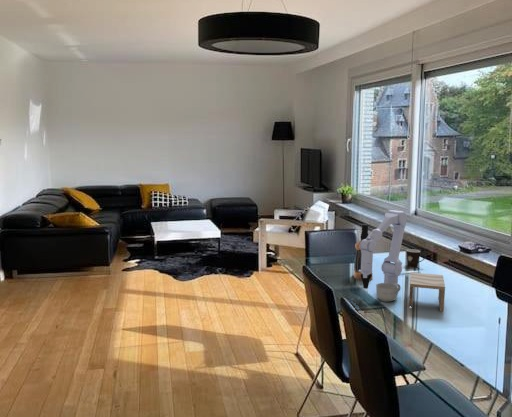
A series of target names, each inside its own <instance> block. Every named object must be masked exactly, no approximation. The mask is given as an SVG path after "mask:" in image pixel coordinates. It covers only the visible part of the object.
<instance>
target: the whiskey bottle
mask: <svg viewBox="0 0 512 417" xmlns="http://www.w3.org/2000/svg"><path fill="white" fill-rule="evenodd" d="M368 236H369V225H368V224H367V223H363V224H361V233H360V241H357V242H355V244H354V247H355V254H354V255H355V256H354V269H353V275H352V276H353V278H354V279H355V280H362V278H361V276H360V275H361V274H362V273H361V272H359V270H361V256H362V253H361V249H360V247H359V245H360V242H361V241H362V240H363V239H366V238H367V237H368ZM371 274H372V275H373V272H372V273H371ZM371 280H373V276H372V277H371V278H370V281H371Z"/></svg>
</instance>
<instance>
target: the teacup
mask: <svg viewBox="0 0 512 417" xmlns="http://www.w3.org/2000/svg"><path fill="white" fill-rule="evenodd" d="M375 287H376V288H375V289H376V297H377V298H378V299H379V300H380V301H382V302H393V301H394V300H396V299H397V297H398V293H399V292H400V291H401V287H402V286H401V285H400V284H399V283H398V284H392V283H384V282H380V283H379V282H378V283H377V284H375ZM397 287H398V289H397Z"/></svg>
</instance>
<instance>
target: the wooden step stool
mask: <svg viewBox="0 0 512 417" xmlns="http://www.w3.org/2000/svg"><path fill="white" fill-rule="evenodd" d="M409 281H410V282H409V300H408V301H409V302H408V307H409V306H411V307H412V308H413V298H414V288H417V289H418V288H419V289H429V290H438V296H437V297H438V306H439V312H441V313H444V311H445V296H446V294H445V293H446V284H445V279H444V275H443V274H434V273H433V274H432V273H423V272H422V273H421V272H410V280H409Z"/></svg>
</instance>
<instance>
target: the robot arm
mask: <svg viewBox="0 0 512 417" xmlns="http://www.w3.org/2000/svg"><path fill="white" fill-rule="evenodd" d="M407 220H408V215H407V212H405V211H400V210H393V209H388V210H387V211H386V212H385V213H384V218H383V219H382V221H381V222H380V224H379V225H378V226H377V228H374V229H372V230H371V232H370V233H368V235H369V236H368V237H367V238H366V239H363V240H362V241H361V240H360V241H361V242H360V245H359V247H360V249H361V253H362V256H361V270H359V272H361V273H362V274H361V275H360V276H361V278H362V279H361V280H362V281H361V282H362V287H363V289H368V288H369V285H370V281H371V280H370V278H371V277H372V278H373V260H374V259H373V257H374V256H373V255H374V251H375V250H376V248H377V245H378V243H379V241H380V240H381V239H382V237H383V233H384V232H385V231H386V230H387V229H388V228H389V227H390V226H392V227H393V233H392V238H391V242H390V246H389V252H388V256H387V257H385V258H384V259H383V261H382V263H381V271H382V272H383V274H384V275H383V277H384V278H383V283H392V284H399V283H398V282H399V276H400V275H401V273H402V272H403V271H402V270H403V265H402V264H403V262H402V261H401V259H399V257H400V253H401V248H402V242H403V238H404V233H405V228H406V226H407ZM371 273H372V274H371ZM397 289H398V287H397Z"/></svg>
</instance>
